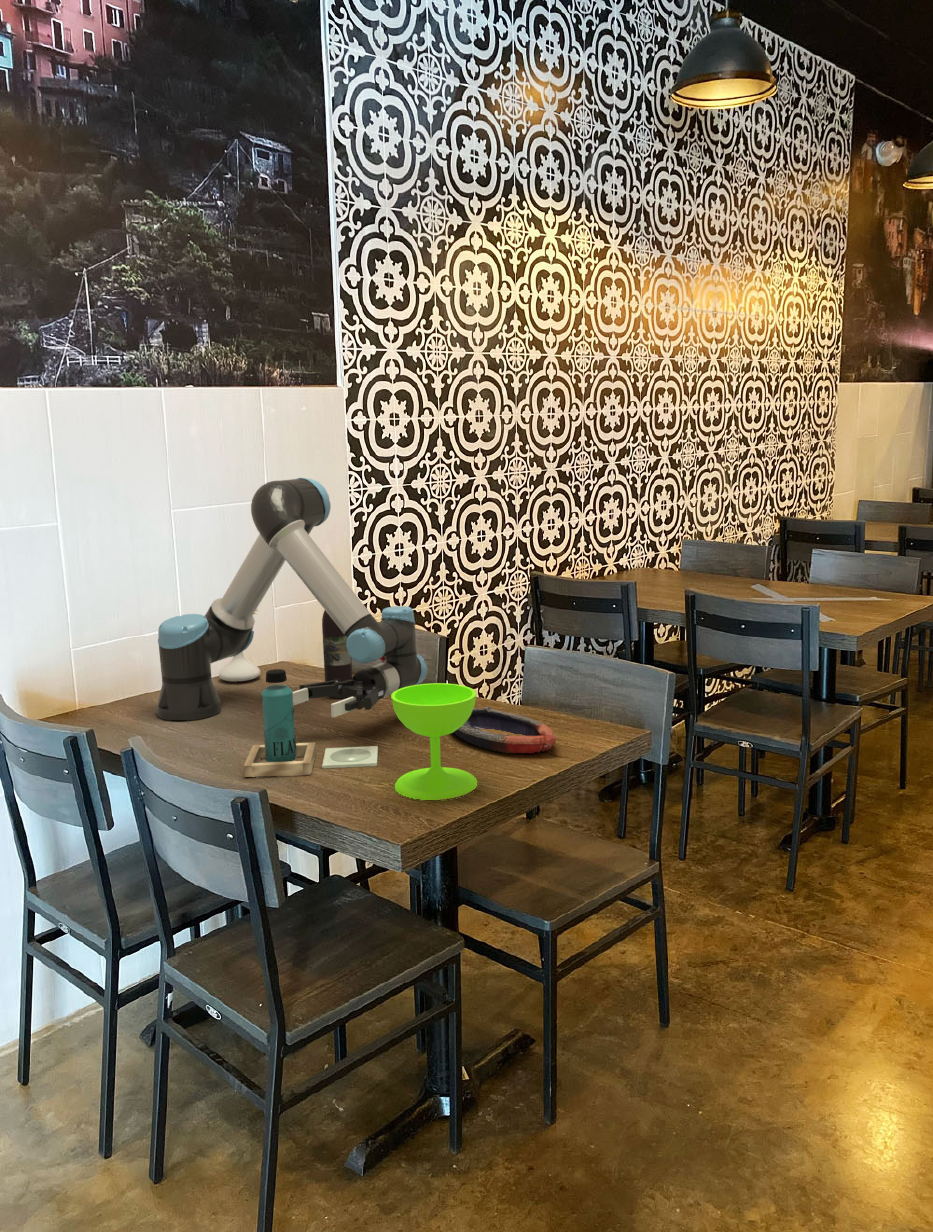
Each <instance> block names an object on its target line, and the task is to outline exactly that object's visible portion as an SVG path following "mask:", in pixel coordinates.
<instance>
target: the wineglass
mask: <svg viewBox="0 0 933 1232" xmlns="http://www.w3.org/2000/svg"><path fill="white" fill-rule="evenodd" d="M390 696H391V703H392V708H393V711H394V713H395V714H396V717H397V718H398V720H399V721H400V722H401V723H402V724H403V726H404V727H405V728H407V729H408V730H410V731H412V732H413V733H414V734H417V735H420V736H424V737H428V738H429V748H430V749H429V750H430V751H429V753H430V755H429V756H430V767H425V768H419V769H415V770H411V771H409V772H406V773H404V774H403V775H401V776H400V777H399V778H398V779H397V780H396V782H395V784H394V791H396V793H397V792H398V793H399V795H400V794H401V795H400V796H402V795H403V796H402V797H404V796H406V797H405V798H407V797H409V798H408V799H411V798H413V799H412V800H416V799H420V800H419V801H423V800H440V799H447V798H454V797H457V796H461V795H464V794H467V793H468V792H470V791H472V790H474V789H475V788H476V786H477V782H478V780H477V778H476V777H475V776H474V775H473V774H472V773H470V772H468V771H466V770H463V769H460V768H454V767H447V766H446V767H444V766H441V765H442V761H441V759H442V758H441V737H443V736H447V735H450V734H453V733H454V731H456V730H457V729H458V728H460V727H461V726H463V725H464V724H465V722H466V721H467V720H468V718H469V717H470V715H471V713H472V711H473V708H475V705H476V702H477V701H476V699H477V692H476V690H475V689H473V688H472V687H468V686H466V685H461V684H457V683H446V682H445V683H443V682H442V683H440V682H439V683H438V682H437V683H434V682H433V683H419V684H418V685H413V686H408V687H404V688H401V689H398V690H396V691H394V692H393V693H392V694H391V695H390ZM398 793H397V794H398Z"/></svg>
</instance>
